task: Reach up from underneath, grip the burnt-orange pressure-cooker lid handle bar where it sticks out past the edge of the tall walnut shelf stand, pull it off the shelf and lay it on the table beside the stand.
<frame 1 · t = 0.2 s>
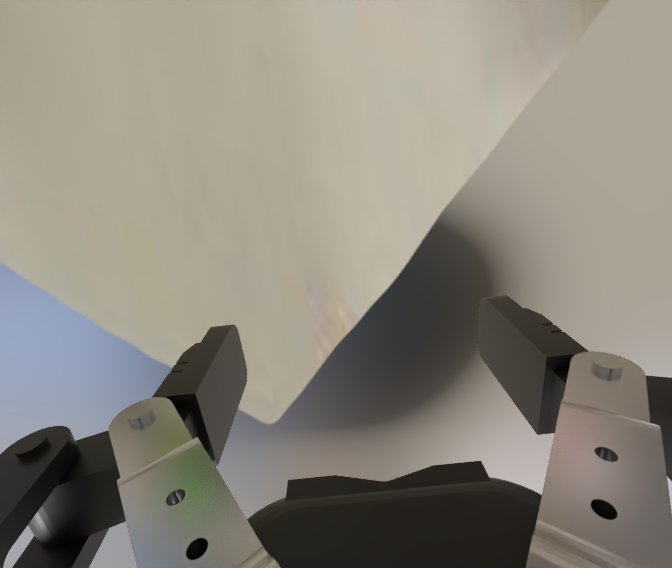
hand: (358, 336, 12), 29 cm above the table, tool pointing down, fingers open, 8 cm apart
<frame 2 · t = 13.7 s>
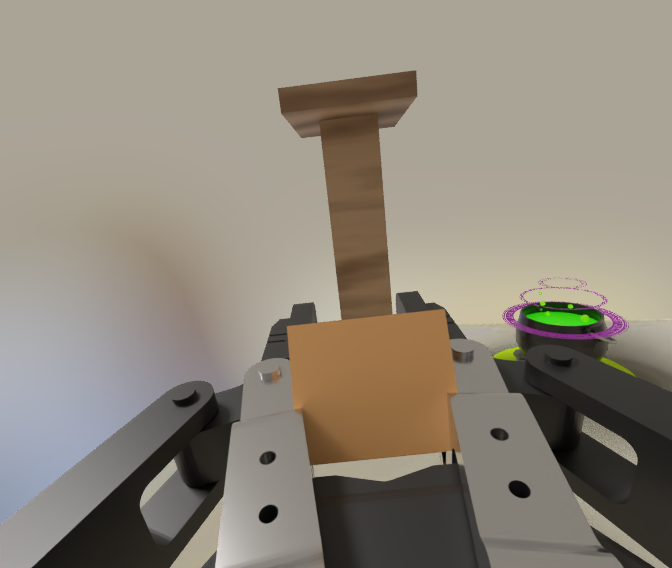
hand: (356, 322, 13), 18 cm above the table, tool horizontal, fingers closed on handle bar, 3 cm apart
toy cauldron: (557, 377, 41), on the table
shelf stand: (372, 377, 44), on the table
handle bar: (361, 385, 17), point 14 cm above the table, tilted 24°, touching gripper
when the fingers open (12 cm above the table, at t = 15.6 s): handle bar drops 7 cm, on the table.
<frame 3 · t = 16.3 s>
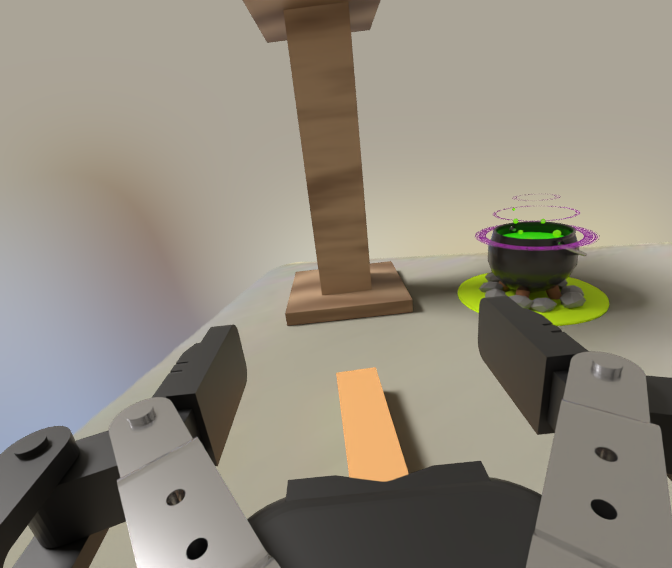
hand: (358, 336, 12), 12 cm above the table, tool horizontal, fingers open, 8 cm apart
toy cauldron: (526, 297, 41), on the table
shelf stand: (347, 302, 44), on the table
handle bar: (388, 542, 18), on the table
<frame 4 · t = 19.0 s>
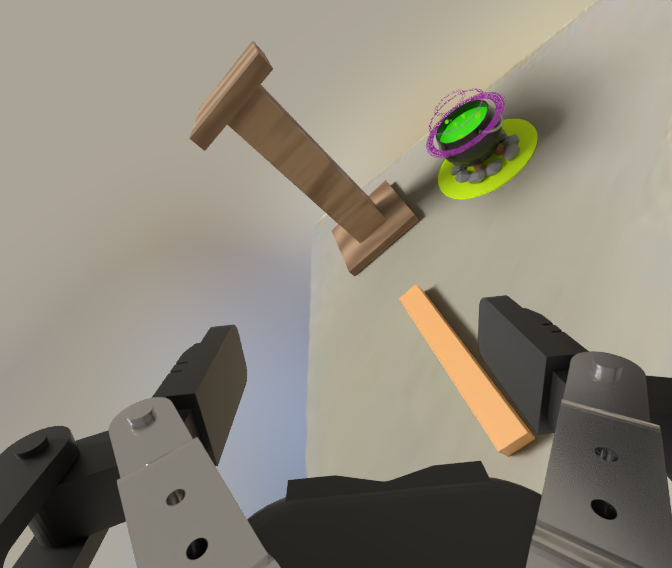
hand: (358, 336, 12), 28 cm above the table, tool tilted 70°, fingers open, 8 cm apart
toy cauldron: (484, 160, 54), on the table
shelf stand: (377, 235, 62), on the table
handle bar: (459, 358, 41), on the table
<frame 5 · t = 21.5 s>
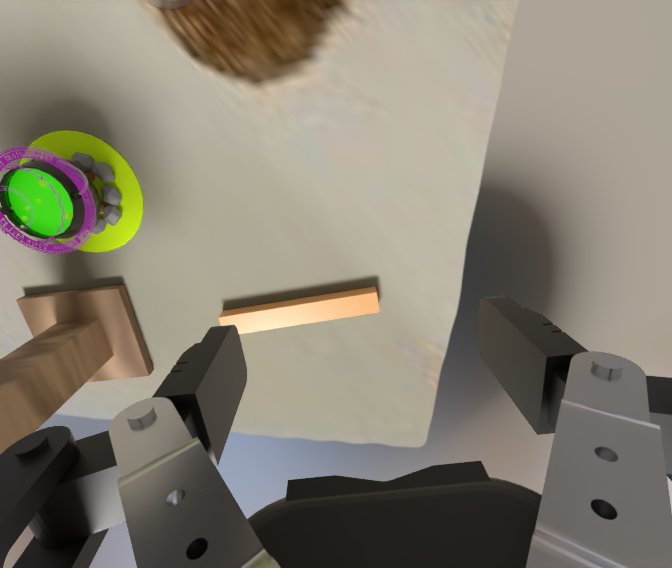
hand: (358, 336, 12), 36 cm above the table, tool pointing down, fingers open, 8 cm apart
toy cauldron: (84, 194, 45), on the table
shelf stand: (109, 332, 52), on the table
handle bar: (300, 307, 51), on the table
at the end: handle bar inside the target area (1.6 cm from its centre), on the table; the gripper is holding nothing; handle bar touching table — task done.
